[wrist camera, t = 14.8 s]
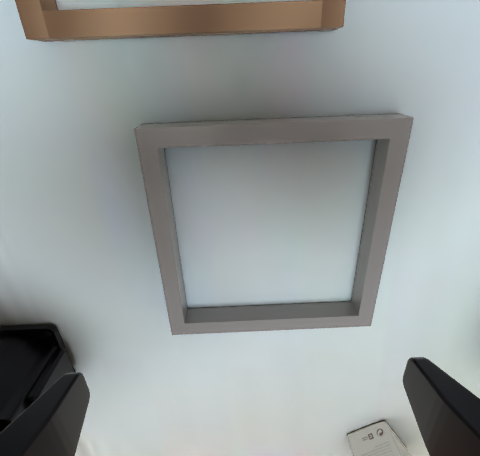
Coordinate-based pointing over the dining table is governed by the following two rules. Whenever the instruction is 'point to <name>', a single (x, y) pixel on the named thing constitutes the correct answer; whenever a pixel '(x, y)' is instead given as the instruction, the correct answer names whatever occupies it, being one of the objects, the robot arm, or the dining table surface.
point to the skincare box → (376, 441)
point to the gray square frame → (269, 132)
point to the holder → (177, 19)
